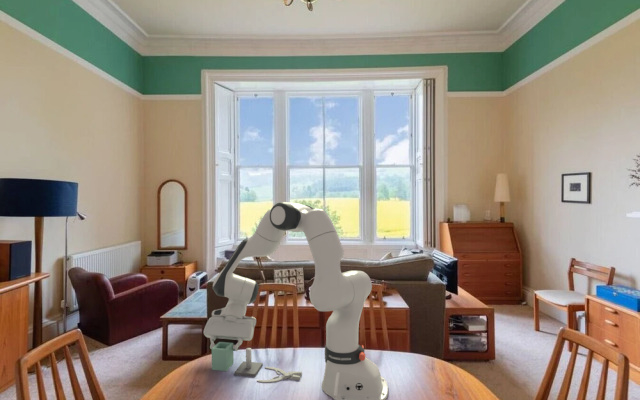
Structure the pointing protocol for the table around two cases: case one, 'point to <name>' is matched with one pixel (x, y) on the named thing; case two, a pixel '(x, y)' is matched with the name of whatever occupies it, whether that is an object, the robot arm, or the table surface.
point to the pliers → (289, 375)
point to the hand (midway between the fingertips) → (223, 349)
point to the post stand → (248, 366)
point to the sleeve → (222, 356)
